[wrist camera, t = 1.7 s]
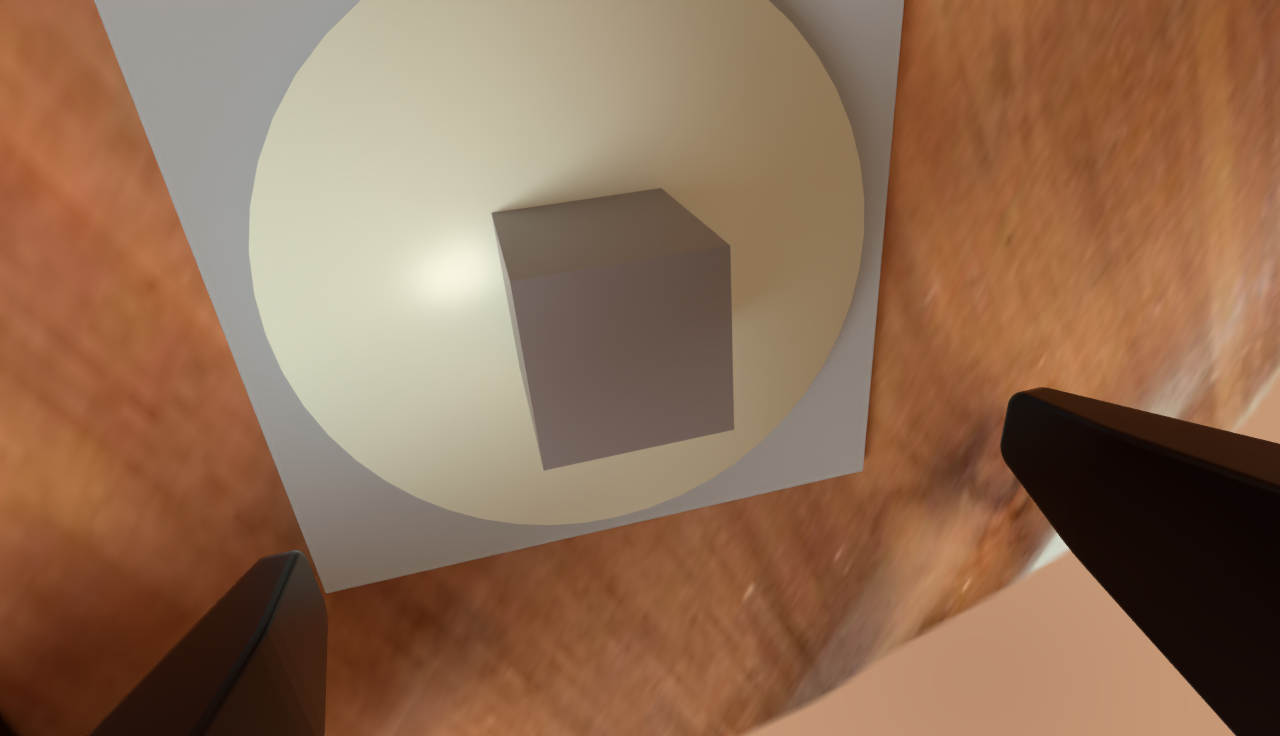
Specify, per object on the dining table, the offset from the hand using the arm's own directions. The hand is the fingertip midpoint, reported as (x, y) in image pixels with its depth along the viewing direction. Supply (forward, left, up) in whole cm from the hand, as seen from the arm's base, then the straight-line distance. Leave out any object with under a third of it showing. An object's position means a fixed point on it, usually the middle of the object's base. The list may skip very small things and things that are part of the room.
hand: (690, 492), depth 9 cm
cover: (0, 0, -8) cm, 8 cm away
